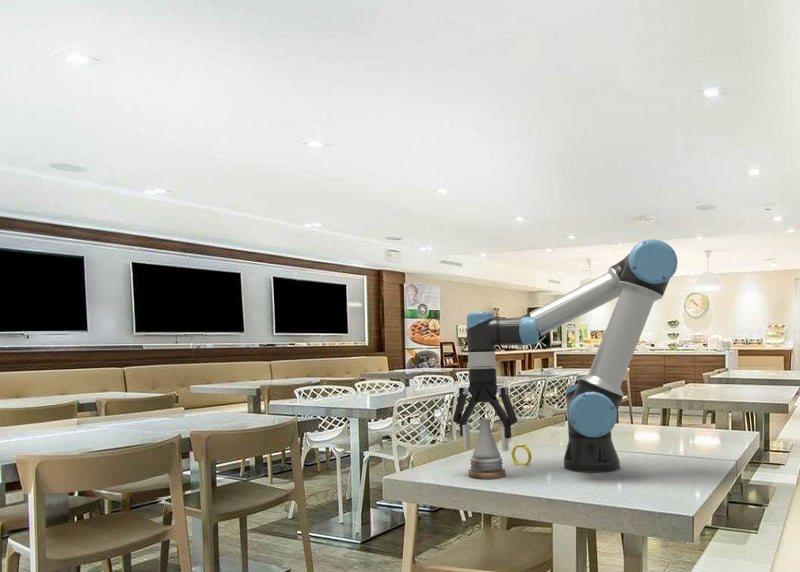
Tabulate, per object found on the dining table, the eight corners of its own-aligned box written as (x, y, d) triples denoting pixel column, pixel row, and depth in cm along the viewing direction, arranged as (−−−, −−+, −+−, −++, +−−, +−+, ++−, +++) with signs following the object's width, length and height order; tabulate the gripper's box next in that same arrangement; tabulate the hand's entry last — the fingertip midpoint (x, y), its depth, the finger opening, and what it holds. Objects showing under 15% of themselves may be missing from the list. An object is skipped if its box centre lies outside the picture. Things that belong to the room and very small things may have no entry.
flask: (505, 456, 176) (503, 418, 177) (490, 460, 170) (488, 421, 171) (482, 454, 181) (480, 417, 182) (467, 457, 175) (466, 420, 176)
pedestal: (511, 473, 177) (510, 455, 177) (496, 480, 168) (495, 461, 169) (478, 471, 182) (477, 453, 182) (462, 477, 173) (461, 458, 174)
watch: (511, 465, 191) (508, 445, 192) (516, 464, 194) (513, 443, 194) (529, 465, 188) (526, 444, 189) (533, 464, 190) (531, 443, 191)
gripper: (527, 366, 175) (531, 449, 173) (451, 368, 187) (454, 445, 185) (516, 367, 169) (521, 453, 166) (438, 369, 181) (441, 449, 179)
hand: (485, 449), depth 176 cm, fingers open, 11 cm apart
